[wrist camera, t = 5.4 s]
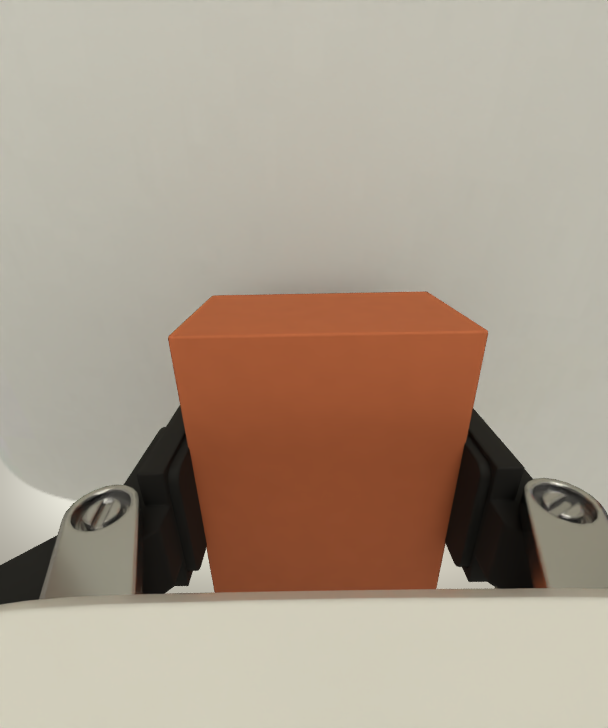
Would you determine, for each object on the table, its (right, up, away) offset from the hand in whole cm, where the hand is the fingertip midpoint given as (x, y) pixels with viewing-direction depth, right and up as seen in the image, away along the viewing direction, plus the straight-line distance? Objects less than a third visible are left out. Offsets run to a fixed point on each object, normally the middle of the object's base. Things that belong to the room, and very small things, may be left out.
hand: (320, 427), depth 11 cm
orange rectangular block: (0, 0, +1) cm, 1 cm away
